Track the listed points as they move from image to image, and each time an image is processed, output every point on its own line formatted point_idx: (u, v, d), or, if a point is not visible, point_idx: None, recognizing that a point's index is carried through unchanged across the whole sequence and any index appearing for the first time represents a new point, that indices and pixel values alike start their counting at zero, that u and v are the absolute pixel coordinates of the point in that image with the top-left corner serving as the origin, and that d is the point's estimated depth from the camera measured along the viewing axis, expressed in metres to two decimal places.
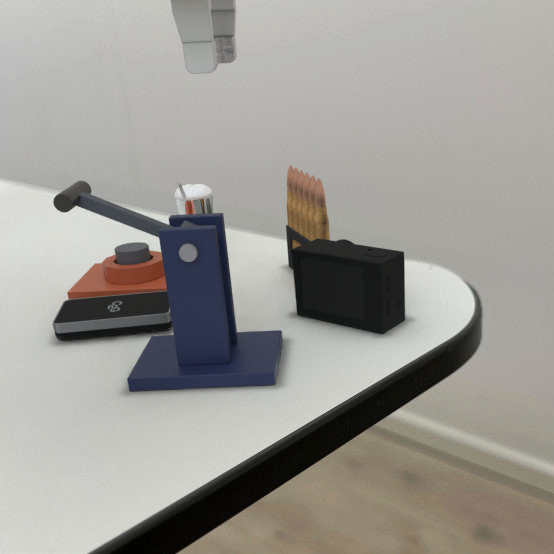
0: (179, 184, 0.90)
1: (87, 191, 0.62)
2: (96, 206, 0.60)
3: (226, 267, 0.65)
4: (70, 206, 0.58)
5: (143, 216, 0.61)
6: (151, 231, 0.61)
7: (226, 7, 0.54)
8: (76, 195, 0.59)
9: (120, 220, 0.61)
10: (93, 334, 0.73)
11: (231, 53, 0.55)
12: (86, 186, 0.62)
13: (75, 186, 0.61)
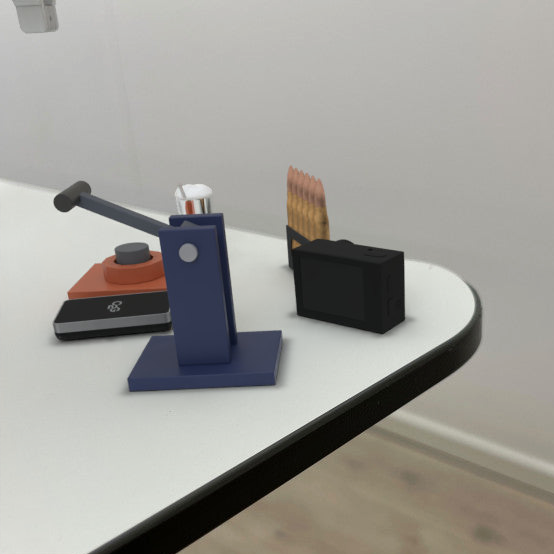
0: (179, 184, 0.90)
1: (87, 191, 0.62)
2: (96, 206, 0.60)
3: (226, 267, 0.65)
4: (70, 206, 0.58)
5: (143, 216, 0.61)
6: (151, 231, 0.61)
7: None
8: (76, 195, 0.59)
9: (120, 220, 0.61)
10: (93, 334, 0.73)
11: (49, 22, 0.55)
12: (86, 186, 0.62)
13: (75, 186, 0.61)
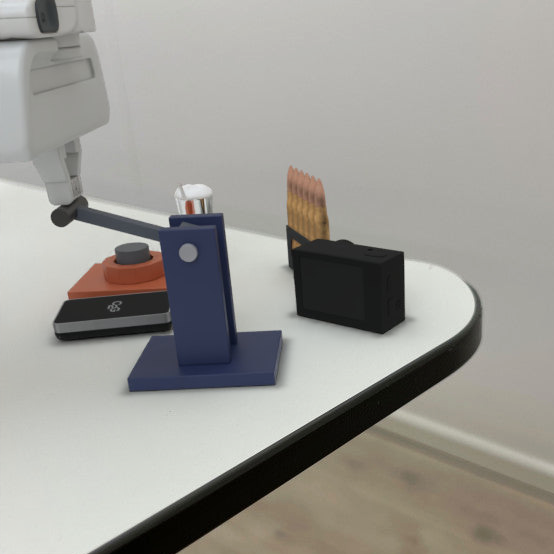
0: (179, 184, 0.90)
1: (84, 204, 0.62)
2: (94, 217, 0.61)
3: (226, 267, 0.65)
4: (67, 220, 0.59)
5: (141, 222, 0.62)
6: (150, 236, 0.61)
7: (69, 151, 0.60)
8: (72, 209, 0.60)
9: (119, 228, 0.61)
10: (93, 334, 0.73)
11: (75, 191, 0.60)
12: (82, 199, 0.62)
13: None
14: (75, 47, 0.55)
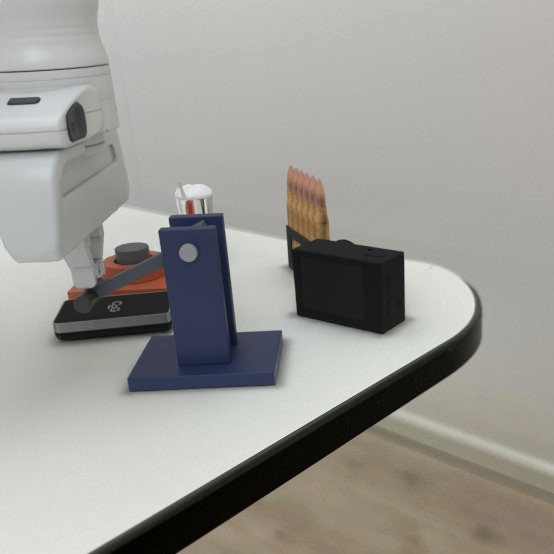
0: (179, 184, 0.90)
1: (100, 282, 0.65)
2: (109, 285, 0.63)
3: (226, 267, 0.65)
4: (88, 302, 0.62)
5: (144, 260, 0.63)
6: (158, 265, 0.62)
7: (93, 235, 0.63)
8: (88, 291, 0.63)
9: (132, 278, 0.63)
10: (93, 334, 0.73)
11: (98, 274, 0.63)
12: None
13: None
14: (100, 143, 0.58)
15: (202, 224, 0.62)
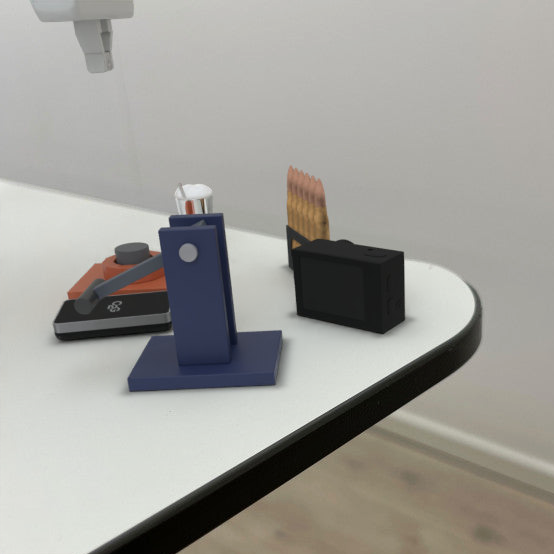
0: (179, 184, 0.90)
1: (101, 283, 0.65)
2: (110, 286, 0.63)
3: (226, 267, 0.65)
4: (89, 303, 0.62)
5: (145, 261, 0.63)
6: (158, 265, 0.62)
7: (103, 30, 0.74)
8: (89, 292, 0.63)
9: (133, 279, 0.63)
10: (93, 334, 0.73)
11: (108, 64, 0.75)
12: (97, 281, 0.65)
13: (87, 287, 0.64)
14: None
15: (202, 224, 0.62)
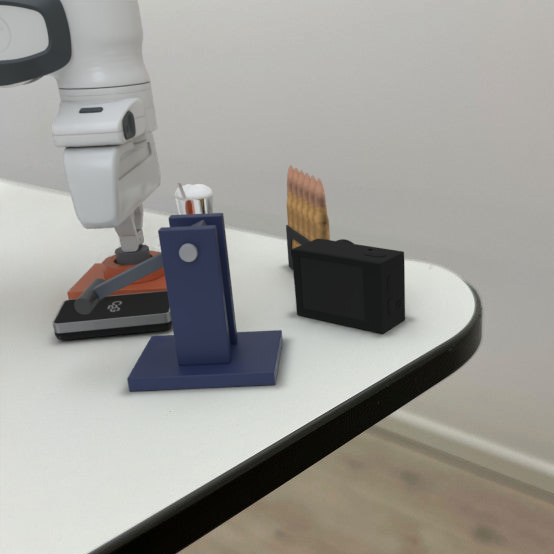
0: (179, 184, 0.90)
1: (101, 283, 0.65)
2: (110, 286, 0.63)
3: (226, 267, 0.65)
4: (89, 303, 0.62)
5: (145, 261, 0.63)
6: (158, 265, 0.62)
7: (135, 211, 0.82)
8: (89, 292, 0.63)
9: (133, 279, 0.63)
10: (93, 334, 0.73)
11: (139, 241, 0.83)
12: (97, 281, 0.65)
13: (87, 287, 0.64)
14: (143, 141, 0.78)
15: (202, 224, 0.62)
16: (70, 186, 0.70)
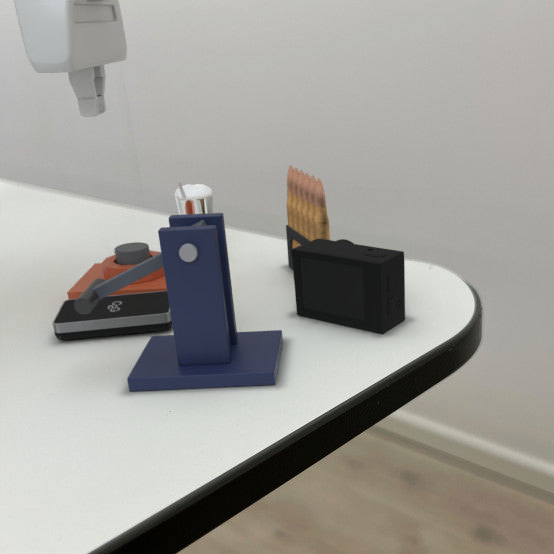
0: (179, 184, 0.90)
1: (101, 283, 0.65)
2: (110, 286, 0.63)
3: (226, 267, 0.65)
4: (89, 303, 0.62)
5: (145, 261, 0.63)
6: (158, 265, 0.62)
7: (96, 75, 0.77)
8: (89, 292, 0.63)
9: (133, 279, 0.63)
10: (93, 334, 0.73)
11: (100, 107, 0.78)
12: (97, 281, 0.65)
13: (87, 287, 0.64)
14: None
15: (202, 224, 0.62)
16: (20, 21, 0.65)
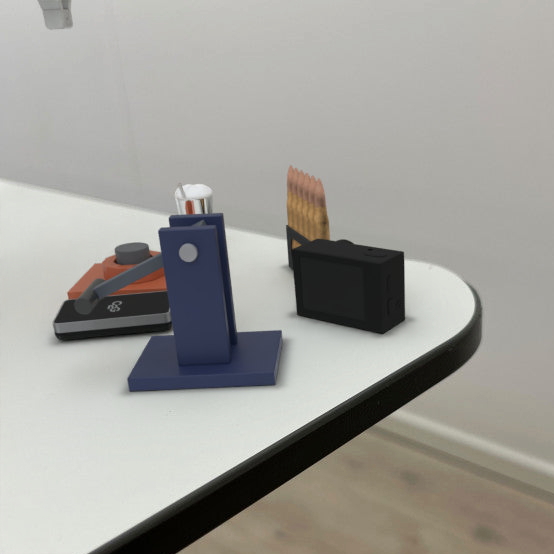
0: (179, 184, 0.90)
1: (101, 283, 0.65)
2: (110, 286, 0.63)
3: (226, 267, 0.65)
4: (89, 303, 0.62)
5: (145, 261, 0.63)
6: (158, 265, 0.62)
7: None
8: (89, 292, 0.63)
9: (133, 279, 0.63)
10: (93, 334, 0.73)
11: (66, 21, 0.75)
12: (97, 281, 0.65)
13: (87, 287, 0.64)
14: None
15: (202, 224, 0.62)
16: None
